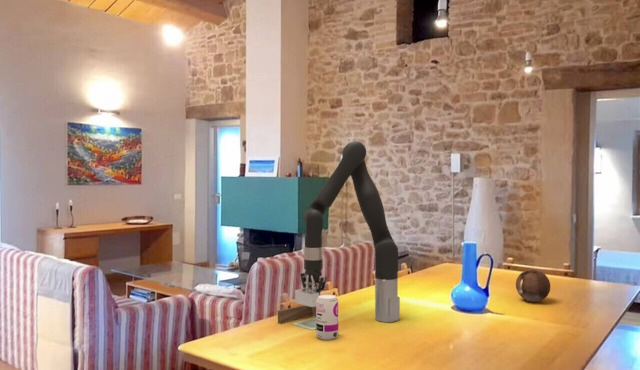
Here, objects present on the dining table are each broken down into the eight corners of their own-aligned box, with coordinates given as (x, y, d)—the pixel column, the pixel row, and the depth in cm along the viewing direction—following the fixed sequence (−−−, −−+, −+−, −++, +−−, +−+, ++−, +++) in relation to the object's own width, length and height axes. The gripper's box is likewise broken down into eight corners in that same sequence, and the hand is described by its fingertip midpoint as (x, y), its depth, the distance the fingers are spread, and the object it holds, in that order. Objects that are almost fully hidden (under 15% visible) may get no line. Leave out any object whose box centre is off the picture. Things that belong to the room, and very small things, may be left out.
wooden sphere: (544, 298, 257) (544, 267, 257) (554, 305, 242) (555, 272, 242) (512, 297, 259) (512, 266, 258) (520, 305, 244) (520, 272, 243)
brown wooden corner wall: (334, 320, 219) (334, 308, 219) (299, 330, 206) (299, 317, 206) (312, 314, 229) (311, 302, 229) (277, 323, 216) (277, 310, 216)
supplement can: (341, 334, 200) (340, 294, 200) (334, 341, 192) (334, 299, 192) (320, 332, 203) (320, 293, 202) (313, 339, 195) (313, 298, 194)
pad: (334, 324, 214) (334, 323, 214) (312, 330, 206) (312, 329, 206) (313, 318, 223) (313, 317, 223) (291, 324, 214) (291, 323, 214)
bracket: (313, 298, 221) (313, 286, 221) (330, 302, 214) (330, 290, 214) (295, 302, 214) (295, 290, 214) (311, 307, 207) (311, 294, 207)
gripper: (332, 259, 215) (331, 301, 216) (308, 255, 226) (308, 295, 226) (318, 261, 210) (318, 304, 211) (294, 256, 221) (294, 298, 221)
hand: (313, 299), depth 218 cm, fingers closed on bracket, 4 cm apart
